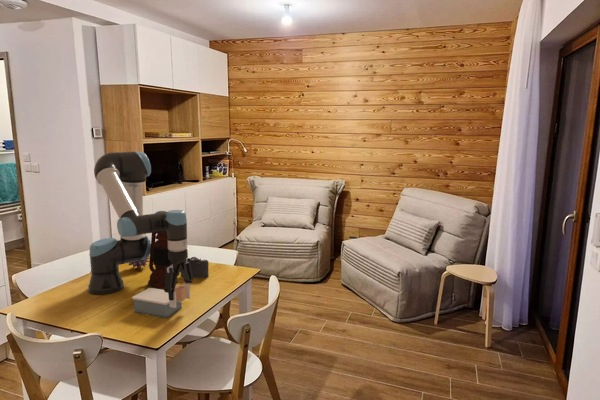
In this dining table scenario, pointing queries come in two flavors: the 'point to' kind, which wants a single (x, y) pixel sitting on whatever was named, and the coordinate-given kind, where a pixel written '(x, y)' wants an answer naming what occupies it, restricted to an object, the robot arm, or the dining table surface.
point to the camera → (199, 268)
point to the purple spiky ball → (139, 263)
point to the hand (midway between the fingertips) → (180, 302)
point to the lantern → (158, 259)
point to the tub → (155, 308)
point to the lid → (161, 295)
